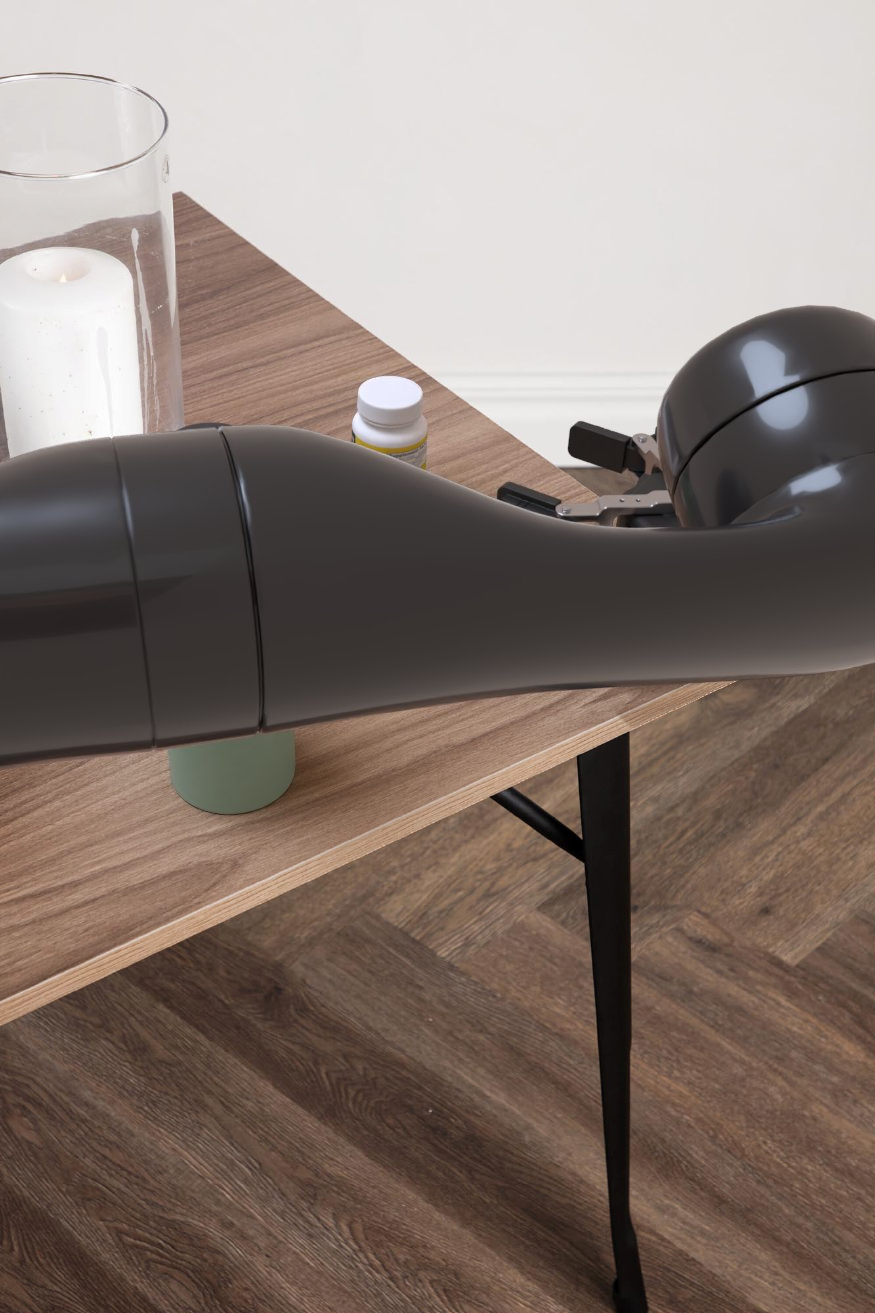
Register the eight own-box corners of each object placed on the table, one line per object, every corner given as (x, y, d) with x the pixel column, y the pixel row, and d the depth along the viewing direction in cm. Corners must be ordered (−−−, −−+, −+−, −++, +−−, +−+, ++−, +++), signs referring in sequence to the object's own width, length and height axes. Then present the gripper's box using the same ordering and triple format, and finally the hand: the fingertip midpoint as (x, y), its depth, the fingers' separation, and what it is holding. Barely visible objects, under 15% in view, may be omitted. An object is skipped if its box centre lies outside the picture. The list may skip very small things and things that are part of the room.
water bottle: (202, 832, 70) (170, 513, 57) (150, 752, 74) (110, 439, 61) (317, 785, 72) (310, 472, 60) (261, 711, 76) (244, 403, 64)
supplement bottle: (340, 493, 93) (339, 379, 87) (406, 478, 94) (409, 365, 89) (368, 533, 89) (369, 417, 84) (436, 517, 91) (442, 402, 86)
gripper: (858, 443, 79) (598, 363, 85) (760, 563, 69) (476, 462, 76) (829, 554, 84) (586, 470, 90) (734, 681, 74) (469, 576, 80)
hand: (536, 466), depth 83 cm, fingers open, 8 cm apart
